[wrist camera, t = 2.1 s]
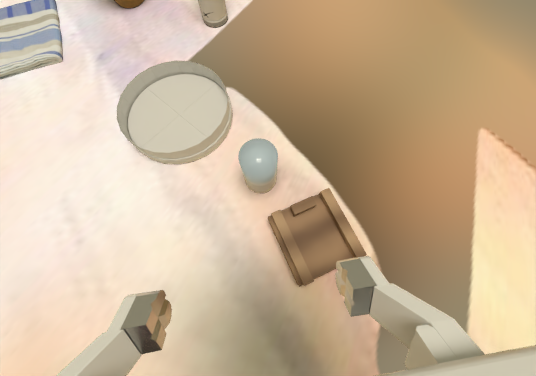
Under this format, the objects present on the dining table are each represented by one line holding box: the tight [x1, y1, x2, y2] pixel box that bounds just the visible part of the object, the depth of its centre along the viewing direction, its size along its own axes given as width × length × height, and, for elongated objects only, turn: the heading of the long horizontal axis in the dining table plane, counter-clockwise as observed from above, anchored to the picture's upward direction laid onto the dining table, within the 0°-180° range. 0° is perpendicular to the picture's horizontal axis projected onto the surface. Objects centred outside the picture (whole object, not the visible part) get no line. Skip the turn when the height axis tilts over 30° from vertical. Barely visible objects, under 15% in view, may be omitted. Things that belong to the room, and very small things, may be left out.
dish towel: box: [0, 0, 63, 79], centre depth 55 cm, size 17×24×3 cm
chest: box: [268, 188, 367, 286], centre depth 37 cm, size 12×12×5 cm
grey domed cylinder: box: [239, 139, 278, 193], centre depth 38 cm, size 6×6×10 cm
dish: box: [117, 61, 233, 164], centre depth 46 cm, size 22×22×5 cm
